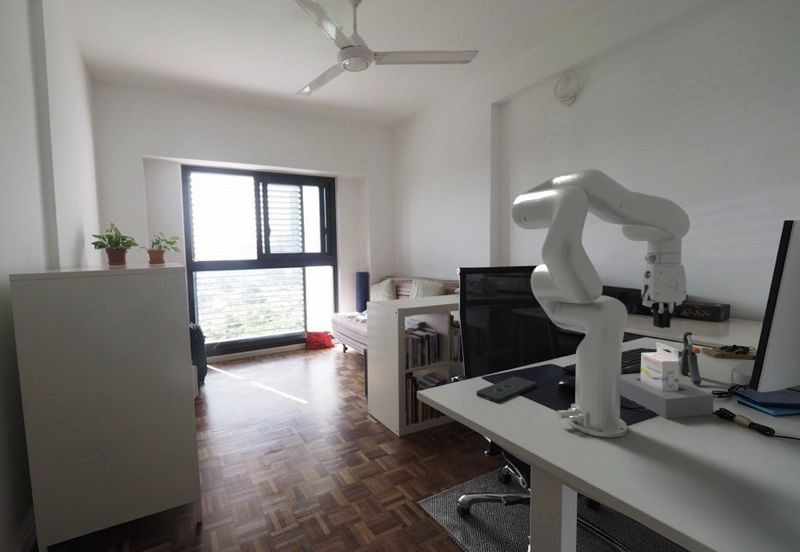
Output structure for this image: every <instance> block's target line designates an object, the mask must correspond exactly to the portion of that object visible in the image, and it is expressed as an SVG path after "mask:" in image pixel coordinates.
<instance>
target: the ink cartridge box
mask: <svg viewBox="0 0 800 552" xmlns="http://www.w3.org/2000/svg"><path fill="white" fill-rule="evenodd" d="M655 346H656V351H655V352H652V351H651V352H641V354H640V356H641V357H640V359H641V360H640V373H641V380H640V381H641V382H643V383H645V384H648V385H650V386H652V387H655V388H657V389H659V390H662V391H664V392H675V391H678V384H679V382H680V380H679V379H680V376H679V375H680V355H679V352H680V351H679V349H677V348H674V347H672V346H670V345H666V344H664V343H661V342H656V343H655ZM666 350H667V351H666ZM668 351H669V352H668Z"/></svg>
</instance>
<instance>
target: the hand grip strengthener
mask: <svg viewBox="0 0 800 552" xmlns="http://www.w3.org/2000/svg"><path fill="white" fill-rule="evenodd" d="M692 335H693V333H692V331H691V332H689V331H685V332H684V333H683V336H682V342H683V349H682V350H681V356H680V362H679V373H680V375H682V376H685V377H686V376H687V377H688V376H690V380H691V383H693V385H694V386H700V385H701V383H702V379H701V375H700V369H699V365H698V355H699V354H701V349H700V348H698V347H694V343H693V340H692ZM689 374H690V375H689Z"/></svg>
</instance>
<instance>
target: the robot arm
mask: <svg viewBox="0 0 800 552" xmlns="http://www.w3.org/2000/svg"><path fill="white" fill-rule="evenodd" d="M588 213H590V214H592V215H594V216H595V217H597V218H599V219H600V220H602V221H603V222H606V223H608V224H612V225H614V224H615V225H618V226H620V225H621V232H622V234H623V236H624V238H626V239H627V240H630V241H632V242H646V243H647V247H646V249H647V253H646V254H647V255H645V257H644V260H645V261H646V264H645V266H644V270H643V275H642V280H641V281H642V282H641V299H642V305H643V306H646V307H648V308H649V309H650V310H651V312H652V313H653V315H652V316H653V322H652V323H653V325H652V326H653V327H656V328H660V329H665V328H667V329H670V328H671V317H672V315H671V314H672V313H674V309H675V308H676V307H677V306H679V305H682V304H683V301H685V300H686V299H687V278H686V271H685V266H684V264H682V247H683V245H682V244H683V243H682V239H683V238H684V237H685V236H686V235H688V233H689V230H690V228H691V221H690V218H689V215H688V214H687V212H686V210H684V209H683V207H681V206H680V205H678V204H677V203H675V202H674V201H672V200H669V199H668V198H665V197H661V196H656V195H651V194H647V193H643V192H637V191H632V190H629V189H628V188H626V186H623V185H622V184H620V183H619V182H617V181H616V180H614V179H613V178H612V177H610V176H609V175H608V174H606V173H604V172H603V171H601V170H599V169H595V168H585V169H580V170H576V171H572V172H568V173H562V174H558V175H555V176H553V177H550V178H549V179H547V180H545V181H543V182H541V183H539V184H537V185H536V186H534V187H532V188H529V189H528V190H526V191H524V192H522V193H521V194H520V195H518V196H517V197H516V199H515V200H514V202H513V204H512V206H511V218H512V220H513V222H514V223H515V224H516V225H517V226H518V228H519V227H520V228H521V229H524V230H540V229H541V230H542V229H548V230H547V234H546V237H545V239H544V242H543V244H542V248H541V260H542V262H541V263H540V264H538V265H537V266H536V267H534V269H533V271H532V273H531V275H530V276H531V277H530V288H531V291H532V294H533V296H534V298H535V299H536V300H537V302H538V303H539V304H540V307H541V308H542V309H543V311H544V313H545V314H546V315H547V317H548V318H549V319H550V320H551V322H552V323H553V324H554V325H555V326H557V327H559V328H561V329H564V330H569V331H573V332H579V333H582V334H585V336H584V338H583V339H582V340H581V342H579V345H578V346H577V347H576V353H575V393H574V394H575V397H574V398H575V403H571V404H570V408H568V409H567V410H565V409H562V410H561V409H560V410H559V409H558V410H556V417H557V419H559V420H563V419H564V420H565V419H567V420H568V423H569V425H571V427H573V428H574V429H576V430H577V431H580V432H582V433H585V434H588V435H590V436H595V437H601V438H619V437H622V436H625V435H626V434H627V433H628V425H627V423H626V422H625V421H624V420H623V419H622V418H621V396H620V389H621V375H622V347H623V340H624V335H625V330H626V326H627V324H628V323H627V322H628V315H629V314H628V309H627V307H626V305H625V304H624V303H623V302H622V301H621V300H619V299H618V298H615V297H611V296H608V295H603V294H602V293H603V289H604V288H603V286H604V285H603V281H602V280H601V277H600V275H599V273H598V272H597V269H596V268H595V266H594V264H593V262H592V261H591V259H590V258H589V256H588V253H586V250H585V248H584V246H583V241H582V239H583V232H584V227H585V223H586V219H587V215H588Z"/></svg>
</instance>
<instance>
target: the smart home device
mask: <svg viewBox="0 0 800 552" xmlns="http://www.w3.org/2000/svg"><path fill="white" fill-rule="evenodd" d="M535 386H536V387H537V383H536V381H533V380H529V379H526V378H522V377H519V376H512V377H509V378H507V379H504V380H502V381H499V382H495V383H493V384H491V385H488V386H487V387H484V388H481V389H478V390H477V391H476V396H477V397H479V398H483V399H485V400H488V401H490V402H493V403H495V404H500V403H502V402H505V401H507V400H509V399H511V398H514V397H516V396H518V395H521V394H522V393H525V392H527V391H529V390H532V389H534V388H535Z"/></svg>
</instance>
